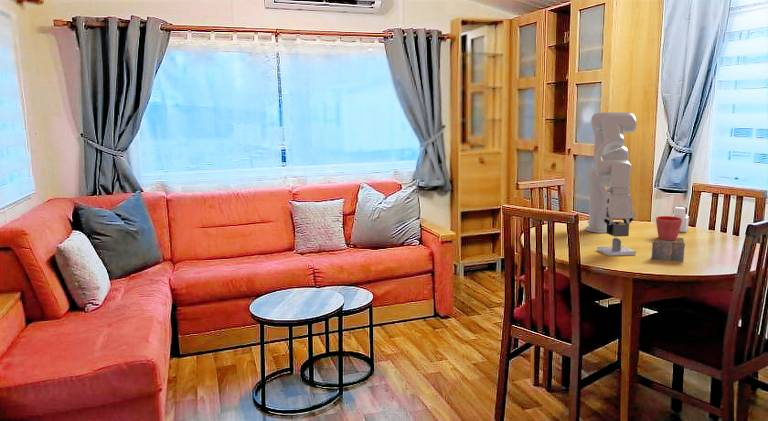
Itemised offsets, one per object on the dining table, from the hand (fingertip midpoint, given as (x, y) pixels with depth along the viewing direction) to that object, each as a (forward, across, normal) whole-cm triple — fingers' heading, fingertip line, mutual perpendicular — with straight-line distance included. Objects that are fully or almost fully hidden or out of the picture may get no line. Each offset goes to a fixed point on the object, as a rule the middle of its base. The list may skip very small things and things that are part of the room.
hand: (617, 233), depth 241 cm
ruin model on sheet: (+9, +14, -14) cm, 22 cm away
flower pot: (+8, +37, +22) cm, 44 cm away
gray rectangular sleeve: (+1, 0, 0) cm, 1 cm away
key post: (+8, 0, 0) cm, 8 cm away
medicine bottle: (+8, +53, +38) cm, 66 cm away
